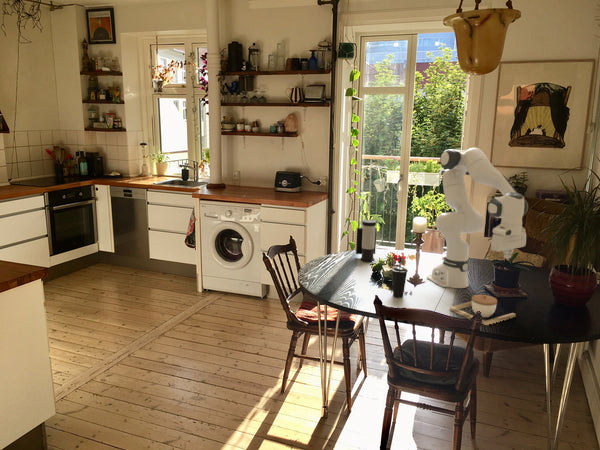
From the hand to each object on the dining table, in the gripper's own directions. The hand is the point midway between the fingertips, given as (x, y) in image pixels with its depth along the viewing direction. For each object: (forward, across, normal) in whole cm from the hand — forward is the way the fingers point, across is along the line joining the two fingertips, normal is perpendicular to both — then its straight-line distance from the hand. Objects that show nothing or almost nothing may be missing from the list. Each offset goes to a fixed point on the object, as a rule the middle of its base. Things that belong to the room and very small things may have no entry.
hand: (507, 258), depth 225 cm
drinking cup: (+25, +34, -34) cm, 54 cm away
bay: (+24, +14, +1) cm, 28 cm away
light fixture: (+25, +9, -90) cm, 94 cm away
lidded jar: (+24, +15, +2) cm, 29 cm away
